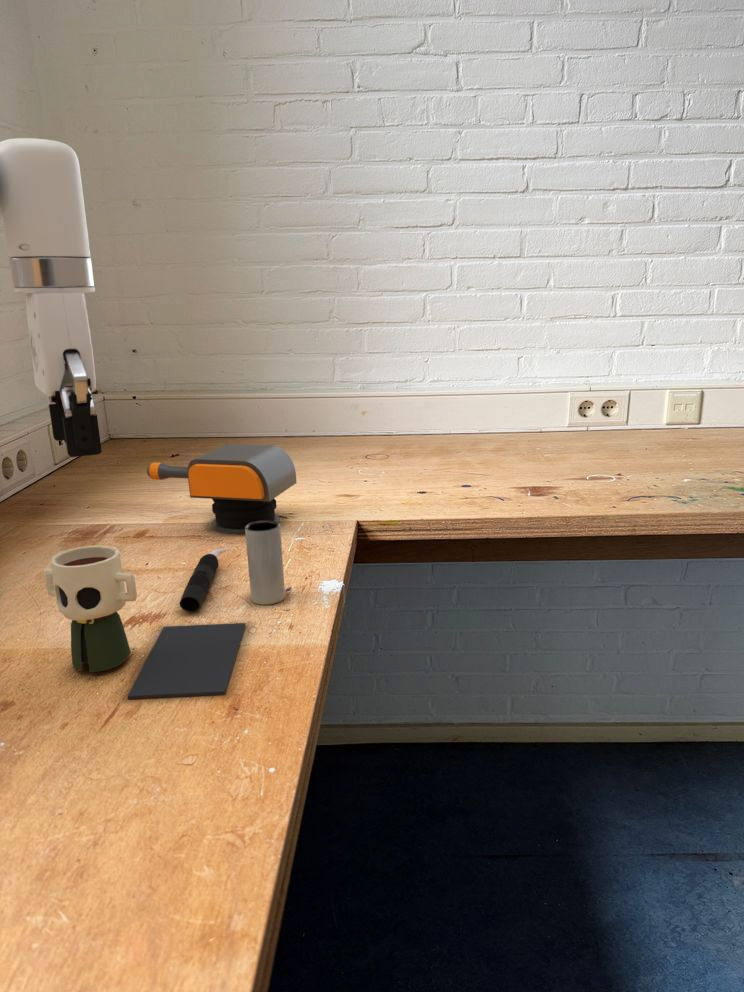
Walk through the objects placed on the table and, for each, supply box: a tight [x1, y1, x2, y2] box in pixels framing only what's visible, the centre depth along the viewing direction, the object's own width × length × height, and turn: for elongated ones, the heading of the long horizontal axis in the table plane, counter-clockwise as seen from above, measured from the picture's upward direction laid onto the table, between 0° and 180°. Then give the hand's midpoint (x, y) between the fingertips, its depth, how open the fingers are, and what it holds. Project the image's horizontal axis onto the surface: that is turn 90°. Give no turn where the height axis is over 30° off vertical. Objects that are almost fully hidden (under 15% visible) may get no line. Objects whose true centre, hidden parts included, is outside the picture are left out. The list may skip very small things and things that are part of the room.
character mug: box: [43, 544, 138, 673], centre depth 88 cm, size 11×7×13 cm, turn 78°
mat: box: [126, 622, 247, 700], centre depth 91 cm, size 10×17×1 cm, turn 4°
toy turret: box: [146, 443, 297, 535], centre depth 139 cm, size 15×25×13 cm, turn 76°
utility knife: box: [179, 548, 232, 613], centre depth 112 cm, size 22×4×3 cm, turn 4°
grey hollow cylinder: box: [244, 521, 286, 606], centre depth 106 cm, size 4×4×10 cm
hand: (77, 446), depth 85 cm, fingers open, 9 cm apart
